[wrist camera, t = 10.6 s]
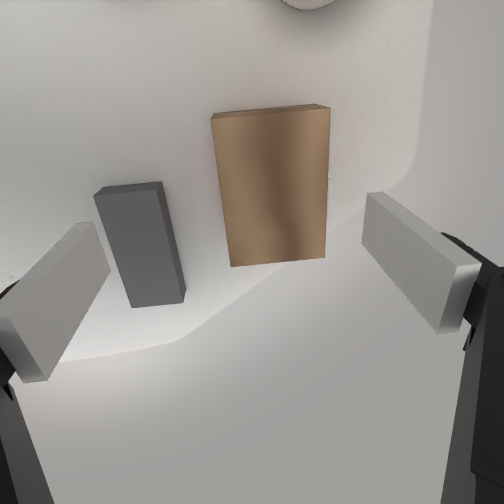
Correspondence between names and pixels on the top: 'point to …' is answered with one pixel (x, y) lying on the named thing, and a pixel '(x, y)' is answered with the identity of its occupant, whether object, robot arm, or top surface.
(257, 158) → the brown wooden block
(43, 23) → the top surface
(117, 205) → the block
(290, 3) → the candle holder
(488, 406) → the robot arm
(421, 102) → the top surface
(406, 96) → the top surface
